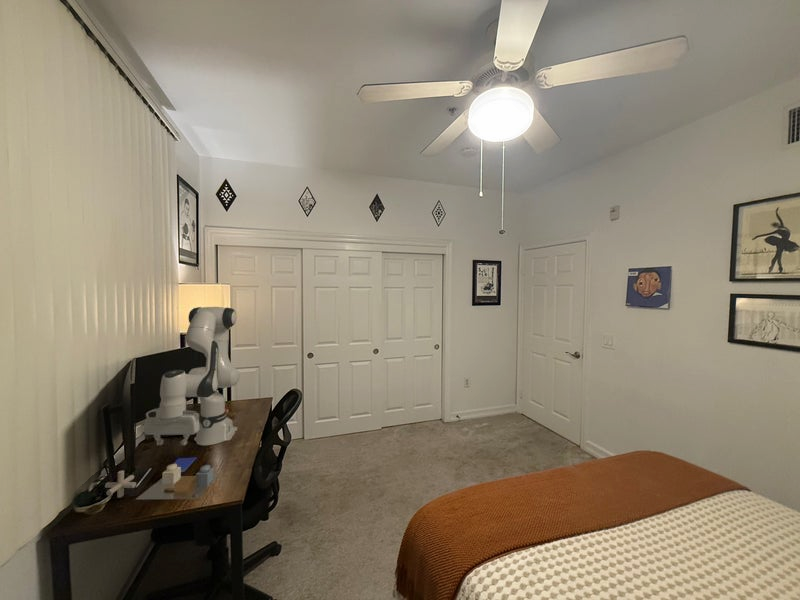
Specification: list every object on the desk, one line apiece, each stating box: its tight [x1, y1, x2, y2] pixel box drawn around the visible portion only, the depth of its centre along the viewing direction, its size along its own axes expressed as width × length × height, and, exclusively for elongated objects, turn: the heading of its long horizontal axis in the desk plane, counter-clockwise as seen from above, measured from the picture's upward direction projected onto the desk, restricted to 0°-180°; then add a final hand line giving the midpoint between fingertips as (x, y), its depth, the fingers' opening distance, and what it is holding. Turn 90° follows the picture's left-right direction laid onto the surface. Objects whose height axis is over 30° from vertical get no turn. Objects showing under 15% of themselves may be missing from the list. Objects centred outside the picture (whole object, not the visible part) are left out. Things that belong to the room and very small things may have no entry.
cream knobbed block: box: [161, 463, 182, 484], centre depth 127 cm, size 4×4×6 cm
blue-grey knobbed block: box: [195, 464, 215, 485], centre depth 127 cm, size 4×4×6 cm
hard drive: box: [172, 457, 198, 473], centre depth 139 cm, size 2×8×12 cm
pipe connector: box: [104, 470, 137, 498], centre depth 117 cm, size 10×10×10 cm
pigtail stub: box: [164, 477, 197, 495], centre depth 121 cm, size 5×11×4 cm, turn 92°
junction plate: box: [135, 475, 219, 500], centre depth 123 cm, size 15×22×1 cm
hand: (171, 444), depth 127 cm, fingers open, 8 cm apart
